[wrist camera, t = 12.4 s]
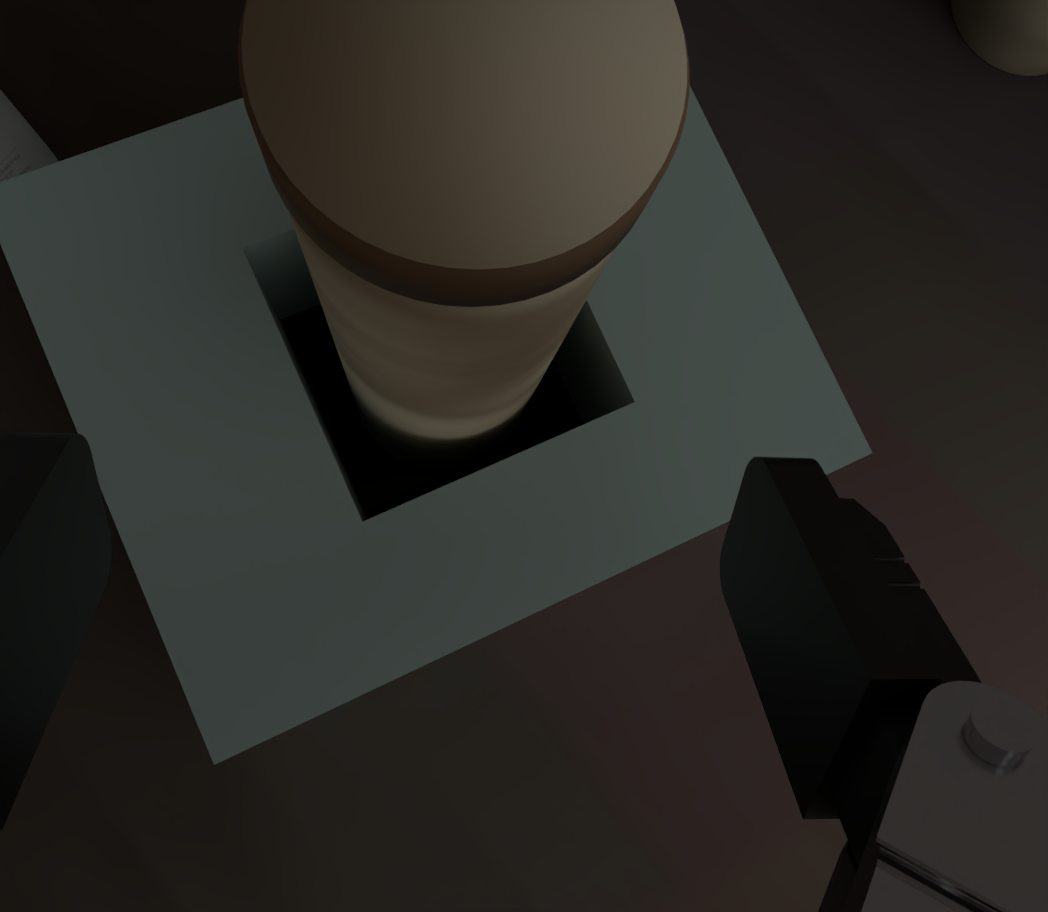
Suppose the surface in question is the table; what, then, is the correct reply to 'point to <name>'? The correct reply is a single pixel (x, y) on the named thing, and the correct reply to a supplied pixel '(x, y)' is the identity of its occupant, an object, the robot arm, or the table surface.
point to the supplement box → (19, 144)
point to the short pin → (1006, 33)
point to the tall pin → (459, 186)
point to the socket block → (311, 456)
